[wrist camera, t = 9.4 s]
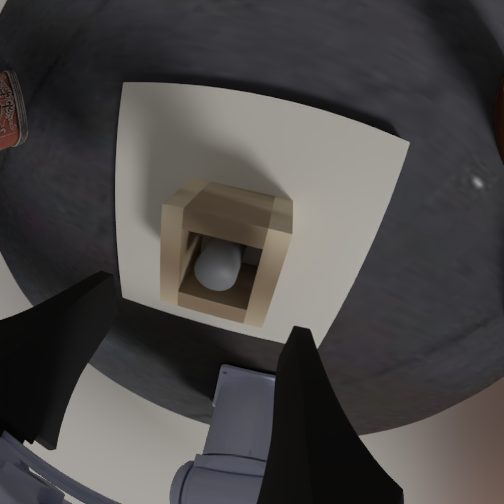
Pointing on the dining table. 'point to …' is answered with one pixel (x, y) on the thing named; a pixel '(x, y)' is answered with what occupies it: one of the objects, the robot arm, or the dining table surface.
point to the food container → (500, 118)
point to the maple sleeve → (228, 228)
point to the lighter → (11, 111)
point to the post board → (254, 179)
